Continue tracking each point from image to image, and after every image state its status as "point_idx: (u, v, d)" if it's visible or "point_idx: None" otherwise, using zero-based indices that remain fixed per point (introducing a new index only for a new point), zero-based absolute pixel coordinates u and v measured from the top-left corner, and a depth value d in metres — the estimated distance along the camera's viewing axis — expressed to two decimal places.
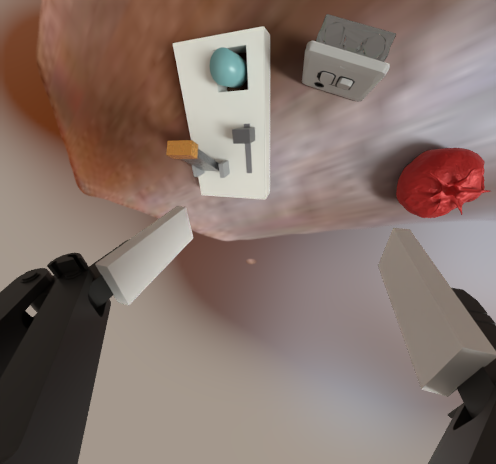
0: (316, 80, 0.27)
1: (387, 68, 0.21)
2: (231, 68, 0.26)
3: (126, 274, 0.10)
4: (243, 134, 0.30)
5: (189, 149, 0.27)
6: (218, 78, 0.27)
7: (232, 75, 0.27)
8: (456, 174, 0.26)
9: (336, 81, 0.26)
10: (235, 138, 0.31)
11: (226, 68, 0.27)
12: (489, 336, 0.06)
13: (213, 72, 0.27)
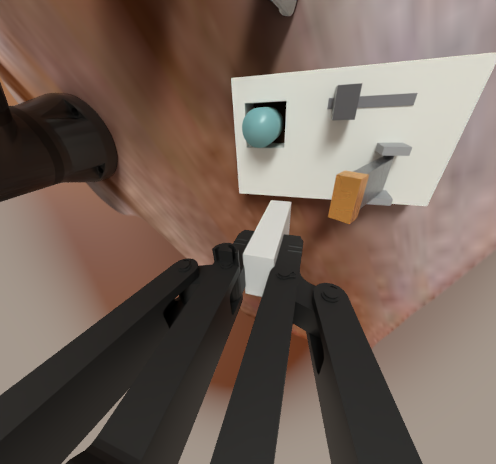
0: None
1: None
2: (261, 116, 0.21)
3: None
4: (344, 97, 0.18)
5: (350, 182, 0.16)
6: (268, 136, 0.22)
7: (267, 115, 0.21)
8: None
9: None
10: (347, 113, 0.19)
11: (260, 123, 0.22)
12: (290, 257, 0.10)
13: (262, 143, 0.23)
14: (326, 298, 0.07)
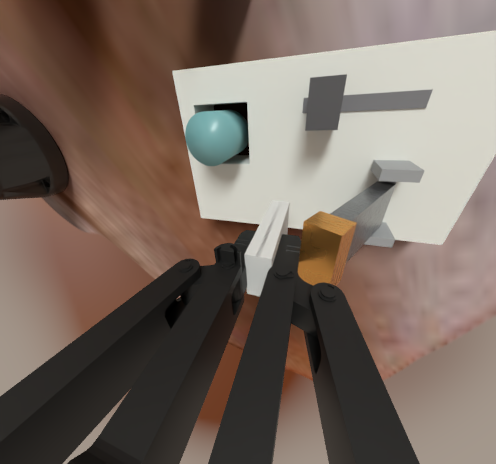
0: None
1: None
2: (207, 123, 0.15)
3: None
4: (320, 96, 0.12)
5: (324, 236, 0.10)
6: (221, 151, 0.16)
7: (216, 122, 0.15)
8: None
9: None
10: (326, 120, 0.12)
11: (208, 133, 0.15)
12: (289, 257, 0.10)
13: (214, 160, 0.16)
14: (323, 298, 0.07)
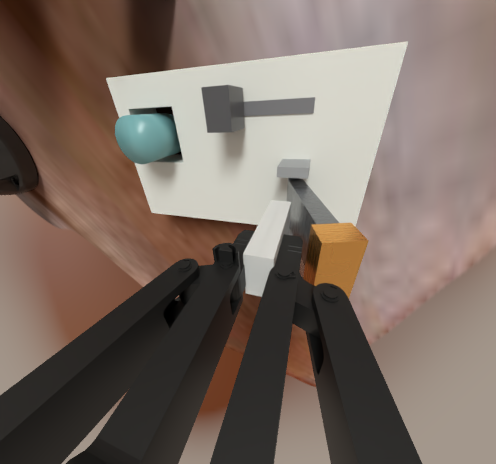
0: None
1: None
2: (131, 125, 0.17)
3: None
4: (212, 103, 0.14)
5: (348, 248, 0.09)
6: (147, 151, 0.18)
7: (138, 125, 0.17)
8: None
9: None
10: (221, 124, 0.14)
11: (134, 135, 0.17)
12: (290, 257, 0.10)
13: (143, 158, 0.18)
14: (326, 298, 0.07)
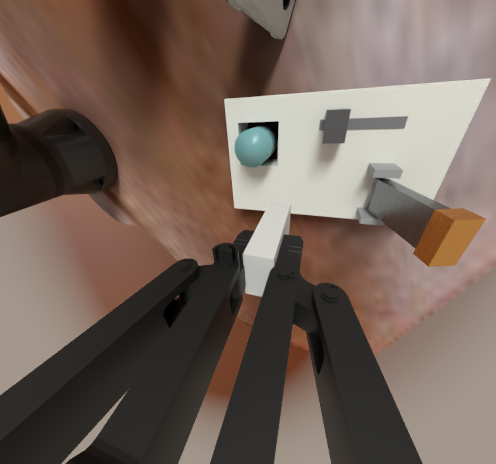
0: (280, 0, 0.18)
1: None
2: (252, 137, 0.21)
3: None
4: (333, 122, 0.18)
5: (470, 224, 0.13)
6: (260, 156, 0.22)
7: (259, 137, 0.21)
8: None
9: None
10: (337, 137, 0.19)
11: (252, 144, 0.22)
12: (290, 257, 0.10)
13: (255, 163, 0.23)
14: (326, 298, 0.07)
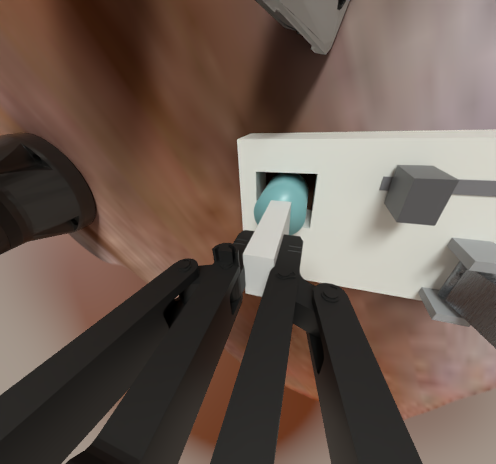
0: None
1: None
2: None
3: None
4: (422, 195, 0.11)
5: None
6: (292, 225, 0.15)
7: (292, 201, 0.14)
8: None
9: None
10: (424, 216, 0.12)
11: None
12: (291, 257, 0.10)
13: None
14: (326, 298, 0.07)
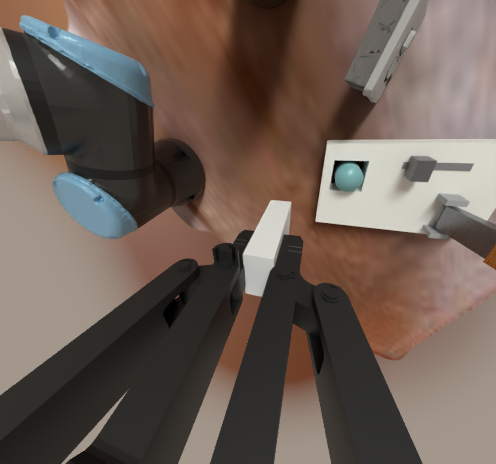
0: (385, 83, 0.26)
1: None
2: (352, 171, 0.30)
3: None
4: (422, 168, 0.26)
5: None
6: (355, 184, 0.31)
7: (357, 171, 0.30)
8: None
9: (399, 55, 0.23)
10: (423, 178, 0.27)
11: (350, 176, 0.31)
12: (291, 257, 0.10)
13: (349, 188, 0.32)
14: (326, 298, 0.07)
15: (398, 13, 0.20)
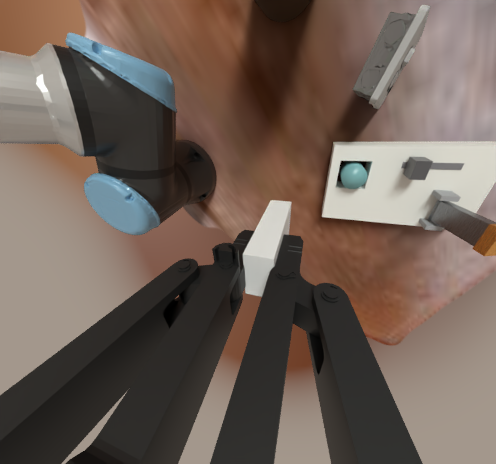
0: (387, 92, 0.29)
1: (423, 7, 0.21)
2: (357, 171, 0.34)
3: None
4: (419, 167, 0.30)
5: None
6: (360, 182, 0.34)
7: (362, 171, 0.33)
8: None
9: (400, 68, 0.27)
10: (420, 176, 0.30)
11: (356, 175, 0.34)
12: (291, 257, 0.10)
13: (354, 186, 0.35)
14: (326, 298, 0.07)
15: (401, 34, 0.23)
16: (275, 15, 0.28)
